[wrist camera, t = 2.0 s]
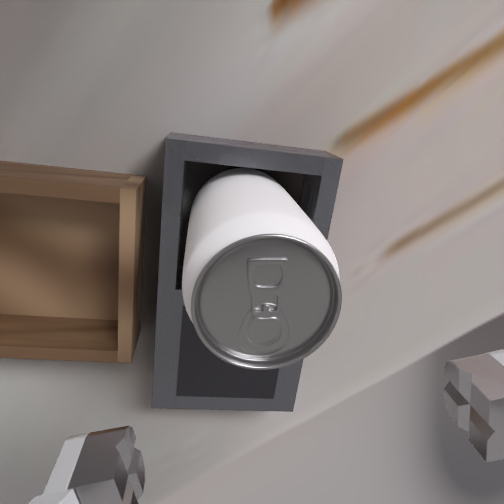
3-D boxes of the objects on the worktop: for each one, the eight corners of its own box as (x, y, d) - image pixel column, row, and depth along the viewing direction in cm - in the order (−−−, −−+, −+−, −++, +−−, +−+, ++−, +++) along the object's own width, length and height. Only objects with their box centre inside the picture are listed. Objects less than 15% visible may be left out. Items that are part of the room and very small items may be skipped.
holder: (-46, 155, 23) (-93, 167, 19) (146, 176, 24) (136, 190, 21) (-26, 320, 27) (-62, 355, 23) (140, 328, 28) (131, 363, 24)
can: (191, 264, 27) (181, 383, 16) (188, 165, 25) (175, 222, 13) (287, 263, 28) (343, 376, 16) (294, 166, 25) (364, 222, 14)
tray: (170, 132, 24) (165, 138, 20) (325, 151, 25) (343, 159, 22) (157, 373, 30) (151, 409, 26) (283, 378, 31) (293, 412, 28)
